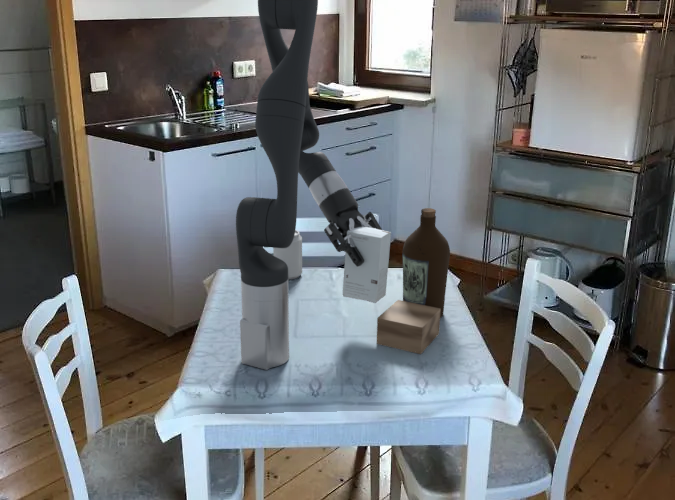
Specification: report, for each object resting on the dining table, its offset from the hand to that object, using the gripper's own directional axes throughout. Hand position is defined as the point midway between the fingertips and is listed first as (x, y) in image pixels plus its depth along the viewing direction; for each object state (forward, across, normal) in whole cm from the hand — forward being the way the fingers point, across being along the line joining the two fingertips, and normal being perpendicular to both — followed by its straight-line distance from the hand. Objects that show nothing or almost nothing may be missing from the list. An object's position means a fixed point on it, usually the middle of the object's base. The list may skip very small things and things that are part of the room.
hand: (372, 260), depth 156 cm
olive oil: (+14, +16, +10) cm, 23 cm away
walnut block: (+18, +3, +6) cm, 19 cm away
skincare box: (+5, 0, +7) cm, 9 cm away
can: (-15, +12, +38) cm, 43 cm away
